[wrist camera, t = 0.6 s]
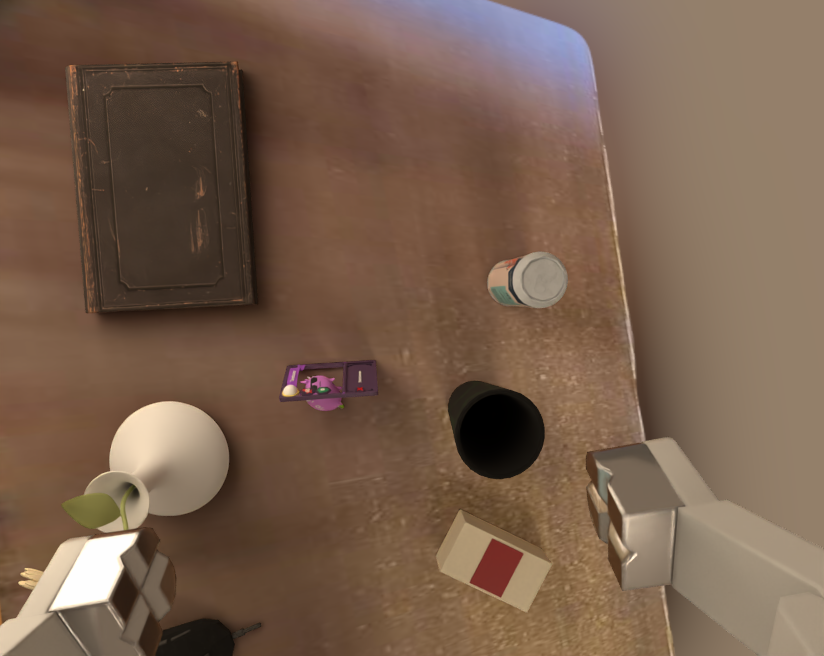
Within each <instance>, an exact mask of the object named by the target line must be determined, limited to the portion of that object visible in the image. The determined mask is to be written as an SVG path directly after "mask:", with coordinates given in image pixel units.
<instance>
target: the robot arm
mask: <svg viewBox="0 0 824 656" xmlns="http://www.w3.org/2000/svg"><path fill="white" fill-rule="evenodd" d="M586 470H587V472H588V474H589V476H590V478H591V482H590V483H589V484H588V485H587V501H588V506H589V511H590V516H591V519H592V522H593V525H594V528H595V530H596V533H597V535H598V537H599V539H601V540H602V541H604V542H605V543H607V544H608V560H609V562H610V565H611V567H612V569H613V571H614V573H615V576H616V578H617V580H618V582H619V585H620V587H621V589H622V591H626V590H633V589H640V588H648V587H655V586H663V585H670V584H672V587H673V588H674V589H676V590H677V591H678V592H679V593H680V594H682V595H683V596H684V597H685V598H687V599H688V600H689V601H690V602H692V603H693V604H694V605H695V606H697V607H698V608H699V609H700V610H702V611H703V612H704V613H705V614H707V615H708V616H709V617H711V618H712V619H713V620H714V621H715V622H717V623H718V624H719V625H720V626H722V627H723V628H724V629H725V630H727V631H728V632H729V633H730V634H731V635H733V636H734V637H735V638H736V639H738V640H739V641H740V642H741V643H743V644H744V645H745V646H746V647H748V648H749V649H750V650H751V651H753V652H754V653H755V654H756V655H758V656H824V548H822V547H820V546H818V545H816V544H814V543H812V542H810V541H808V540H806V539H804V538H802V537H800V536H798V535H796V534H794V533H792V532H791V531H788V530H787V529H784V528H782V527H781V526H779V525H777V524H775V523H773V522H771V521H769V520H767V519H765V518H763V517H761V516H759V515H757V514H755V513H753V512H751V511H749V510H747V509H745V508H743V507H741V506H739V505H737V504H735V503H733V502H731V501H729V500H723V501H719V500H718V499H717V497H716V496H715V494H714V493H713V492H712V490H711V489H710V488H709V486H708V485H707V484H706V482H705V481H704V479H703V478H702V477H701V475H700V474H699V473H698V471H697V470H696V469H695V467H694V466H693V464H692V463H691V462H690V460H689V459H688V458H687V456H686V455H685V453H684V452H683V451H682V450H681V448H680V447H679V445H678V444H677V443H676V441H675V440H674V439H672V438H670V437H666V438H661V439H655V440H650V441H644V442H642V443H635V444H629V445H623V446H618V447H612V448H607V449H601V450H595V451H590V452H587V455H586ZM159 542H160V539H159V538H158V536H157V534H156V533H155V531H154V529H153V528H148V527H143V528H136V529H129V530H122V531H115V532H108V533H101V534H95V535H92V536H85V537H78V538H70V539H68V540H66V541H65V542H64V543H62V544H61V545H60V546H59V548H58V550H57V551H56V553H55V555H54V556H53V558H52V560H51V561H50V563H49V565H48V566H47V568H46V570H45V571H44V573H43V575H42V576H41V578H40V580H39V581H38V583H37V585H36V586H35V588H34V590H33V591H32V593H31V595H30V596H29V598H28V600H27V601H26V603H25V605H24V606H23V608H22V610H21V611H20V613H19V615H18V616H17V618H14V619H9V620H7V621H6V622H4V623H3V624H2V625H1V626H0V656H155V654H156V651H157V649H158V646H159V643H160V640H161V637H162V634H163V631H162V628H161V626H160V624H159V621H160V620H161V619H162V618H163V617H164V616H165V615H166V614H167V613H168V612H169V611H170V610H171V608H172V604H173V601H174V598H175V595H176V574H175V569H174V566H173V564H172V562H171V560H170V558H169V557H168V556H166V555H165V554H163V553H161V552H159V551H158V550H157V547H158V545H159Z"/></svg>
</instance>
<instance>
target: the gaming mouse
mask: <svg viewBox="0 0 824 656" xmlns="http://www.w3.org/2000/svg"><path fill="white" fill-rule="evenodd" d="M258 627H261V623H258V624H256V625H253V626H251V627H249V628H246V629H241V630H238V631H237V632H234V633H232V635H231V633H230V631H229V630H228V629H227V628H226V627H225V626H224V625H223V624H222V623H221V622H220V621H219V620H212V619H200V620H196V621H193V622H189V623H186V624H183V625H180V626H177V627H173V628H170V629H167V630H164V631H163V634H162V637H161V640H160V643H159V646H158V649H157V651H156V654H155V656H232V655H233V649H234V645H235V643H234V641H233V639H235V638H237V637H240V636H243V635H245V633H247V632H249V631H251V630H254V629H256V628H258Z"/></svg>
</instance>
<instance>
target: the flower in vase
mask: <svg viewBox="0 0 824 656" xmlns="http://www.w3.org/2000/svg"><path fill="white" fill-rule="evenodd" d="M109 462H110V472H106V473H103V474H101V475H99V476H97V477H96V478H95V479H94V480H93V481H92V482H91V483H90V484H89V485H88V487H87V489H86V491H85V493H84V495H82V496H78V497H75V498H73V499H70V500H68V501H66V502H64V503H62V504H61V506H62V507H63V509H64V510H65V511H66V512H67V513H68V514H69V515H70V516H71V517H72V518H73V519H74V520H75V521H76V522H78V523H79V524H80V525H82V526H84V527H86V528H90V529H94V528H97V529H99V530H100V531H103V532H105V533H108V532H115V531H122V530H129V529H136V528H137V527H139V526H140V525H141V524H142V523H143V522H144V520H145V519H146V517H147V515H148V513H150V514H154V515H160V516H176V515H182V514H186V513H189V512H192V511H195V510H197V509H199V508H200V507H202V506H204V505H205V504H207V503H208V502H209V501H210V500H211V499H212V498H213V497H214V496H215V495H216V494H217V493H218V491H219V490H220V488H221V487H222V485H223V483H224V481H225V478H226V476H227V472H228V468H229V450H228V445H227V442H226V439H225V437H224V434H223V432H222V431H221V429H220V428H219V426H218V425H217V423H216V422H215V421H214V420H213V419H212V418H211V417H210V416H209V415H207V414H206V413H205V412H203V411H202V410H200V409H198V408H196V407H194V406H191V405H188V404H185V403H180V402H172V401H170V402H159V403H154V404H151V405H147V406H145V407H143V408H141V409H139V410H137V411H136V412H134V413H133V414H132V415H130V416H129V417H128V418H127V419H126V420H125V421H124V422H123V423H122V425H121V426H120V428H119V429H118V431H117V433H116V435H115V437H114V439H113V442H112V446H111V450H110V459H109ZM25 570H26V571H25V572H24V573H21V575H22V576H23V577H26V578H28V579H31V580H28V581H19V582H18V583H19V584H20V585H21V586H23V587H25V588H28V589H32V590H34V588H35V586H36V585H37V583H38V581H39V580H40V578H41V576H42V575H43V573H44V572H42V571H39V570H35V569H31V568H25Z"/></svg>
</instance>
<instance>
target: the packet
mask: <svg viewBox="0 0 824 656" xmlns="http://www.w3.org/2000/svg"><path fill="white" fill-rule="evenodd" d="M436 558H437V562H438V566H439V570H440V572H442V573H444V574H446V575H448V576H450V577H452V578H455V579H457V580H459V581H461V582H463V583H465V584H467V585H469V586H472V587H474V588H476V589H478V590H480V591H482V592H484V593H486V594H488V595H491V596H493V597H495V598H497V599H499V600H501V601H503V602H505V603H508V604H510V605H512V606H514V607H516V608H518V609H520V610H522V611H525V612H527V611H528V610H529V608H530V606H531V604H532V602H533V600H534V598H535V596H536V594H537V592H538V590H539V588H540V587H541V585H542V583H543V581H544V579H545V577H546V575H547V573H548V571H549V569H550V567H551V565H552V563H551V561H550V560H549V558H548V557H547V556H546V554H545V553H544V551H543V550H542V548H540V547H538V546H535V545H533V544H531V543H529V542H527V541H525V540H523V539H521V538H519V537H517V536H515V535H513V534H511V533H509V532H507V531H505V530H502V529H500V528H498V527H496V526H494V525H492V524H490V523H488V522H486V521H484V520H482V519H480V518H478V517H476V516H474V515H472V514H469V513H467V512H465V511H463V510H461V509H460V510H459V512H458V514H457V516H456V517H455V519H454V521H453V523H452V525H451V527H450V529H449V531H448V533H447V535H446V537H445V539H444V541H443V543H442V545H441V546H440V548H439V550H438V552H437V554H436Z"/></svg>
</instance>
